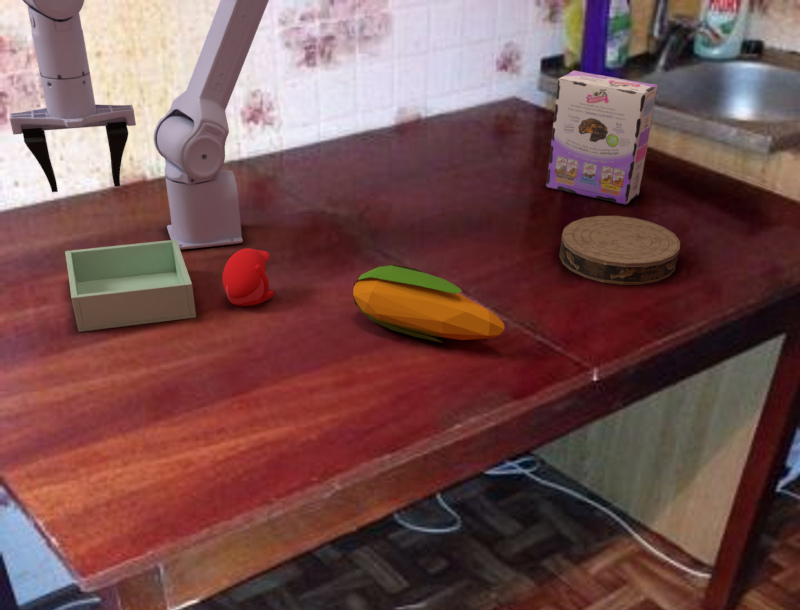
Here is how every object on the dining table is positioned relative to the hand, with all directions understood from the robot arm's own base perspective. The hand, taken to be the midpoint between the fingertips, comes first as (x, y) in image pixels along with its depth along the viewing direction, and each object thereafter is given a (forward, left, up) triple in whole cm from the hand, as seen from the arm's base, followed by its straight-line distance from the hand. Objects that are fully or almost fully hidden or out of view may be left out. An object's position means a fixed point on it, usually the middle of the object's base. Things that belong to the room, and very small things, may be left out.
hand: (85, 186), depth 126 cm
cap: (-17, +16, -10) cm, 26 cm away
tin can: (-68, +18, -10) cm, 71 cm away
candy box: (-76, -6, -10) cm, 77 cm away
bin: (-3, +13, -10) cm, 17 cm away
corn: (-36, +31, -10) cm, 49 cm away
